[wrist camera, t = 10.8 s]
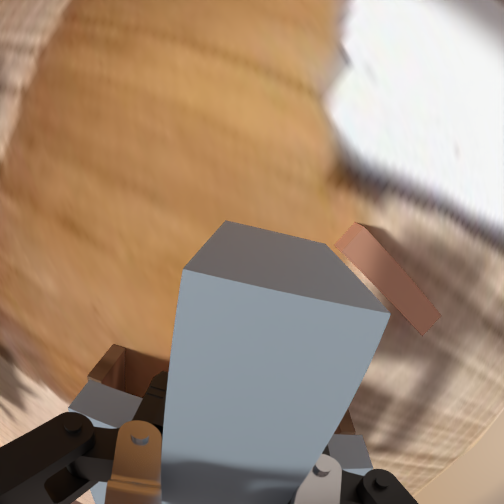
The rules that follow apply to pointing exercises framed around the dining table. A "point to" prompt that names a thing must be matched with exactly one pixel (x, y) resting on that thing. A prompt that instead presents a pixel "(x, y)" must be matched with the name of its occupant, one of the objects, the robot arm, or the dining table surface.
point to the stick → (388, 277)
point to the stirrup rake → (256, 370)
